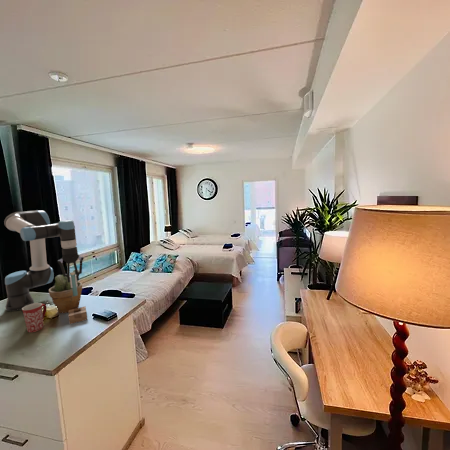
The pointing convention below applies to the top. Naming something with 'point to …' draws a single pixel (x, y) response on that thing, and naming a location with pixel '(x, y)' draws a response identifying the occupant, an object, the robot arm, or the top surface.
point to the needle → (74, 284)
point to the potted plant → (65, 294)
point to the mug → (34, 316)
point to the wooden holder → (77, 315)
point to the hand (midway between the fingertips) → (74, 286)
